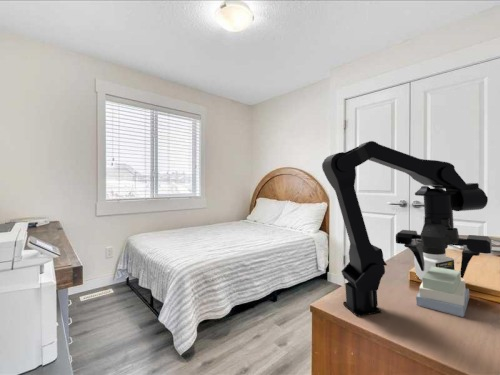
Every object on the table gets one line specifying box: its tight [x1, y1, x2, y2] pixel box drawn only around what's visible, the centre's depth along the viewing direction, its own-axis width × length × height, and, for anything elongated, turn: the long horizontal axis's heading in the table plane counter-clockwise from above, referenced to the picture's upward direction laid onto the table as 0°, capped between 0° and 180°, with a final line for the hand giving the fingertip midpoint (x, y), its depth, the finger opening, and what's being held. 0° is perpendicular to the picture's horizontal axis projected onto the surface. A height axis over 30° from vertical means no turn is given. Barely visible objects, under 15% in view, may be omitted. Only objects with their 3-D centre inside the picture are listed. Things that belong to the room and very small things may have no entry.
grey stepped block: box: [415, 278, 470, 318], centre depth 63 cm, size 12×9×4 cm
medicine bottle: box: [413, 246, 455, 282], centre depth 76 cm, size 7×7×12 cm
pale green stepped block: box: [421, 266, 462, 294], centre depth 63 cm, size 10×6×2 cm, turn 133°
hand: (441, 273), depth 63 cm, fingers open, 8 cm apart
